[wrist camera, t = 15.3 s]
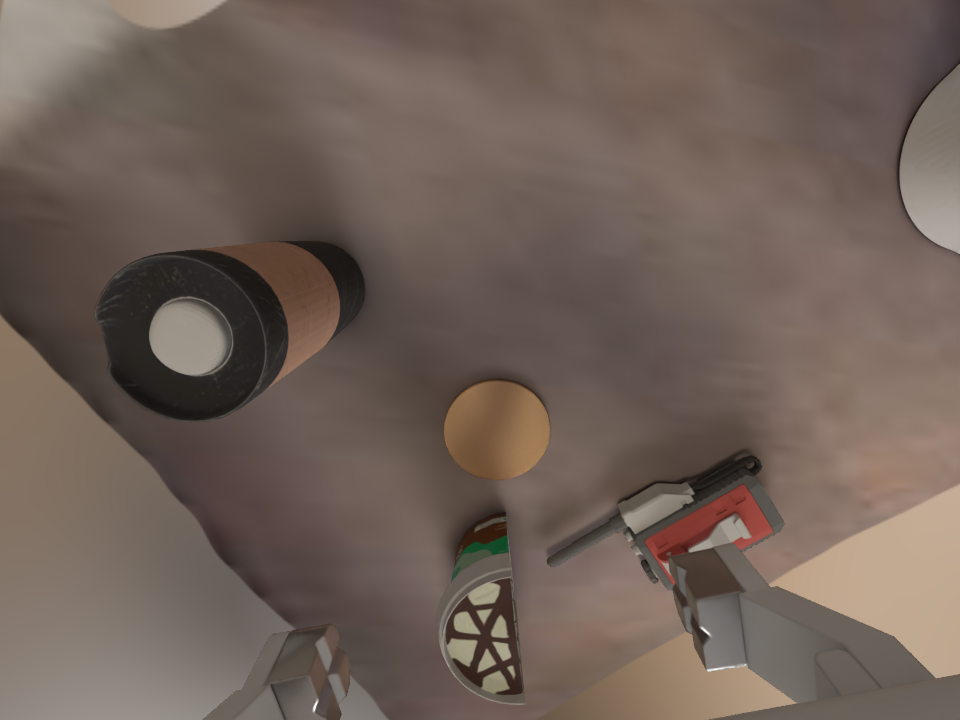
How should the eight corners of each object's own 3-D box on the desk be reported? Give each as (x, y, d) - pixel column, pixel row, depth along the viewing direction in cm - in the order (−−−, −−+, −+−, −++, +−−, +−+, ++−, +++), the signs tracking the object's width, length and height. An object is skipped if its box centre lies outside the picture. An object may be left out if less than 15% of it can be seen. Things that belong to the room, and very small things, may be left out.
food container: (435, 504, 46) (423, 578, 37) (504, 497, 46) (510, 569, 36) (452, 620, 49) (445, 717, 40) (516, 614, 49) (526, 710, 40)
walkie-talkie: (737, 430, 45) (539, 546, 47) (764, 451, 40) (545, 578, 43) (782, 506, 46) (590, 613, 49) (813, 534, 42) (600, 650, 45)
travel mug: (388, 283, 41) (307, 335, 22) (329, 353, 43) (203, 459, 24) (311, 216, 40) (153, 209, 21) (253, 290, 42) (55, 348, 22)
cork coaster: (538, 368, 43) (538, 370, 43) (558, 465, 45) (559, 468, 45) (432, 391, 44) (432, 393, 43) (458, 486, 46) (457, 489, 45)
